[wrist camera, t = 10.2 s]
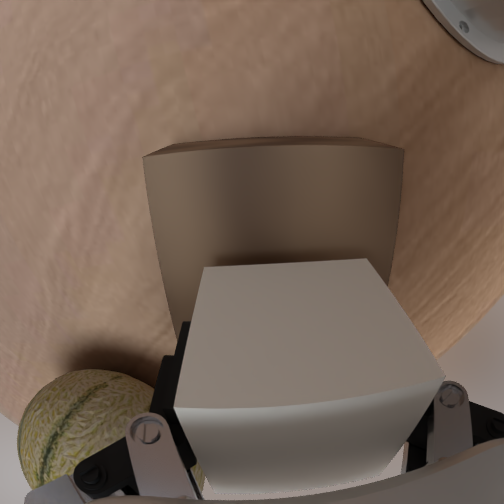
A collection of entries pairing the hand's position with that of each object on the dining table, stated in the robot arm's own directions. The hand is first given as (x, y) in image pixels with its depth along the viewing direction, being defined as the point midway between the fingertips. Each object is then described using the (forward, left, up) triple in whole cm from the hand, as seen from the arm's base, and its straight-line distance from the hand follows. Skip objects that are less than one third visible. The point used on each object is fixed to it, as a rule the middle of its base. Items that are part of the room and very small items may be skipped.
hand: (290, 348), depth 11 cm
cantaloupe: (+13, +13, -8) cm, 20 cm away
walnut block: (0, 0, -8) cm, 8 cm away
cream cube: (0, 0, -1) cm, 1 cm away
